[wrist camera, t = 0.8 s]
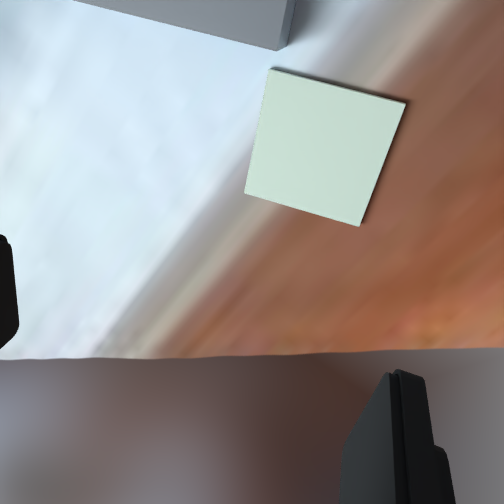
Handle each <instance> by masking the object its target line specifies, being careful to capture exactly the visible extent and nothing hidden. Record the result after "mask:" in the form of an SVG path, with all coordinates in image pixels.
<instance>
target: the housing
mask: <svg viewBox="0 0 504 504" xmlns="http://www.w3.org/2000/svg"><path fill="white" fill-rule="evenodd" d="M74 1H78V2H82V3H86V4H90V5H94V6H98V7H102V8H106V9H110V10H114V11H118V12H122V13H126V14H130V15H134V16H138V17H142V18H146V19H150V20H154V21H158V22H162V23H166V24H170V25H174V26H178V27H182V28H186V29H190V30H194V31H198V32H202V33H206V34H210V35H214V36H218V37H222V38H226V39H230V40H234V41H238V42H241V43H245V44H249V45H253V46H257V47H261V48H265V49H269V50H273V51H278V50H280V49H283V48H285V47H286V46H287V41H288V37H289V32H290V27H291V23H292V18H293V13H294V9H295V4H296V0H74Z"/></svg>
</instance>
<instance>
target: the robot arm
mask: <svg viewBox="0 0 504 504" xmlns="http://www.w3.org/2000/svg"><path fill="white" fill-rule="evenodd" d="M18 328H19V316H18V305H17V295H16V285H15V275H14V265H13V255H12V248H11V245H10V244H9V243H8V242H7V239H6V237H5V236H3V235H1V234H0V349H1V348H2V347H3V346H4V345H5V344H6V343H7V342H9V341H10V340H11V339H12V338H13V337H14V336H15V334H16V332H17V330H18ZM339 504H456V503H455V496H454V490H453V485H452V479H451V473H450V467H449V461H448V458H447V454H446V452H445V451H444V449H443V448H441V447H438V446H436V445H434V440H433V434H432V427H431V420H430V413H429V406H428V400H427V393H426V386H425V381H424V379H423V378H422V377H420V376H417V375H414V374H411V373H408V372H405V371H403V370H400V369H396V370H395V371H394V372H393V374H391V373H388V372H386V373H385V374H384V376H383V377H382V379H381V381H380V382H379V384H378V386H377V388H376V389H375V391H374V393H373V395H372V396H371V398H370V400H369V402H368V403H367V405H366V407H365V408H364V410H363V412H362V414H361V415H360V417H359V419H358V421H357V422H356V424H355V426H354V427H353V429H352V431H351V433H350V434H349V436H348V438H347V440H346V442H345V444H344V448H343V452H342V463H341V479H340V496H339Z"/></svg>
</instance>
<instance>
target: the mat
mask: <svg viewBox="0 0 504 504" xmlns="http://www.w3.org/2000/svg"><path fill="white" fill-rule="evenodd" d="M405 105H406V104H405V103H403V102H399V101H395V100H391V99H387V98H384V97H380V96H376V95H372V94H368V93H364V92H360V91H356V90H352V89H348V88H344V87H341V86H337V85H333V84H329V83H325V82H321V81H317V80H313V79H309V78H305V77H302V76H298V75H294V74H290V73H286V72H282V71H278V70H274V69H269V70H268V75H267V80H266V85H265V90H264V95H263V100H262V106H261V111H260V116H259V121H258V126H257V131H256V136H255V141H254V146H253V151H252V156H251V161H250V166H249V171H248V176H247V181H246V186H245V191H244V193H246V194H249V195H252V196H256V197H259V198H263V199H266V200H269V201H273V202H276V203H280V204H283V205H286V206H290V207H293V208H297V209H300V210H303V211H307V212H310V213H314V214H317V215H321V216H324V217H327V218H331V219H334V220H338V221H341V222H344V223H348V224H351V225H355V226H358V227H359V226H360V223H361V220H362V218H363V215H364V213H365V210H366V207H367V205H368V202H369V200H370V197H371V194H372V192H373V189H374V186H375V184H376V181H377V179H378V176H379V173H380V171H381V168H382V165H383V163H384V160H385V158H386V155H387V152H388V150H389V147H390V144H391V142H392V139H393V137H394V134H395V131H396V129H397V126H398V123H399V121H400V118H401V116H402V113H403V110H404V108H405Z"/></svg>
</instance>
